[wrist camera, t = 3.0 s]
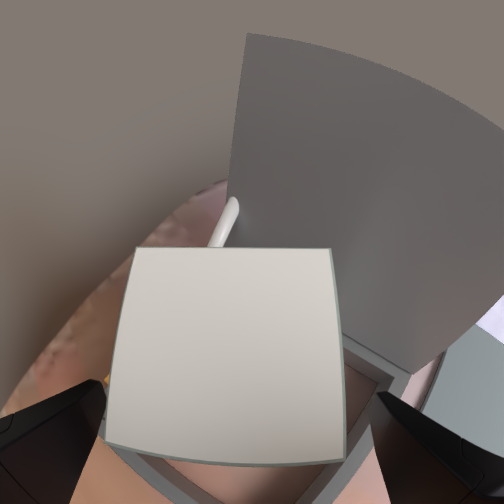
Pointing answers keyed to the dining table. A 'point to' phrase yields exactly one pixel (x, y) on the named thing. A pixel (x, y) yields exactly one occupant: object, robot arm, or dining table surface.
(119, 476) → the dining table surface
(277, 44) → the equipment case
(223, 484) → the dining table surface
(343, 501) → the dining table surface
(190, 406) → the block
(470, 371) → the slate mat
